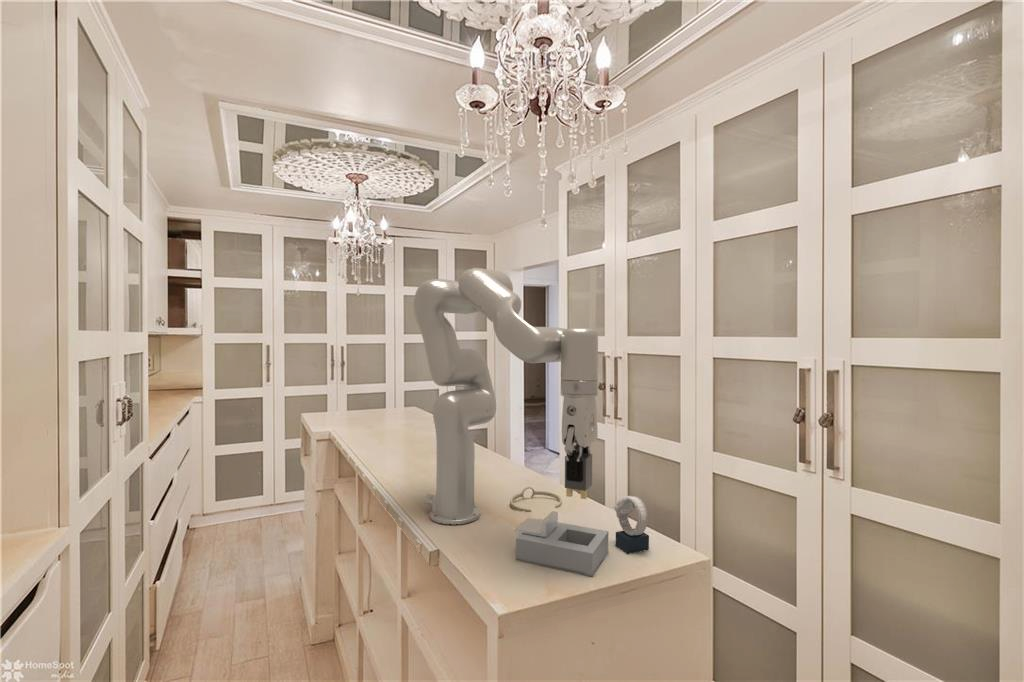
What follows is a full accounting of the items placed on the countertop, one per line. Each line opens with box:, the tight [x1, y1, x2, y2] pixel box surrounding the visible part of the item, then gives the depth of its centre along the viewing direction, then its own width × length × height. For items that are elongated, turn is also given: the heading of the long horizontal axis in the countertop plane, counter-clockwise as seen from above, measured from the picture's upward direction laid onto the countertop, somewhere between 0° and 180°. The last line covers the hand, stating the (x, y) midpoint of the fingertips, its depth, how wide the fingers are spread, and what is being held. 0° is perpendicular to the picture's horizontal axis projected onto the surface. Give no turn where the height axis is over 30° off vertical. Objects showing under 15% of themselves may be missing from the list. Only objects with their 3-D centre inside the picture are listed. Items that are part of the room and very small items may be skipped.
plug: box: [564, 447, 593, 500], centre depth 103 cm, size 4×4×10 cm
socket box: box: [515, 518, 609, 578], centre depth 105 cm, size 16×12×4 cm
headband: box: [509, 486, 563, 513], centre depth 136 cm, size 15×4×10 cm
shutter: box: [514, 510, 559, 537], centre depth 107 cm, size 7×7×3 cm
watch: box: [614, 495, 650, 555], centre depth 109 cm, size 6×8×11 cm
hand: (578, 476), depth 103 cm, fingers closed on plug, 4 cm apart
